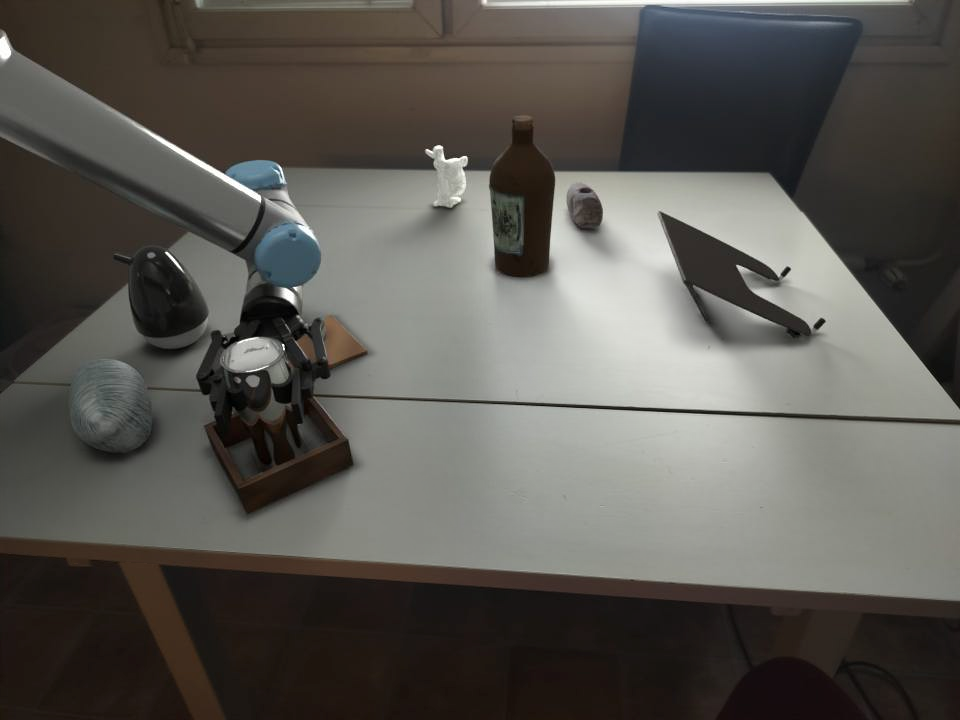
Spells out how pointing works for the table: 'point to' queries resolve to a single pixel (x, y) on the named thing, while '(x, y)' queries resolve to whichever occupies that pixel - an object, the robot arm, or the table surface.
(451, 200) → the white irregular figure
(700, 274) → the laptop tray
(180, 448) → the table surface
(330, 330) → the cork mat
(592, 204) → the perforated stone tool
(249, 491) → the frame
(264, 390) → the beer glass
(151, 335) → the pump dispenser
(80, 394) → the grey ovoid lump
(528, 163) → the olive oil
